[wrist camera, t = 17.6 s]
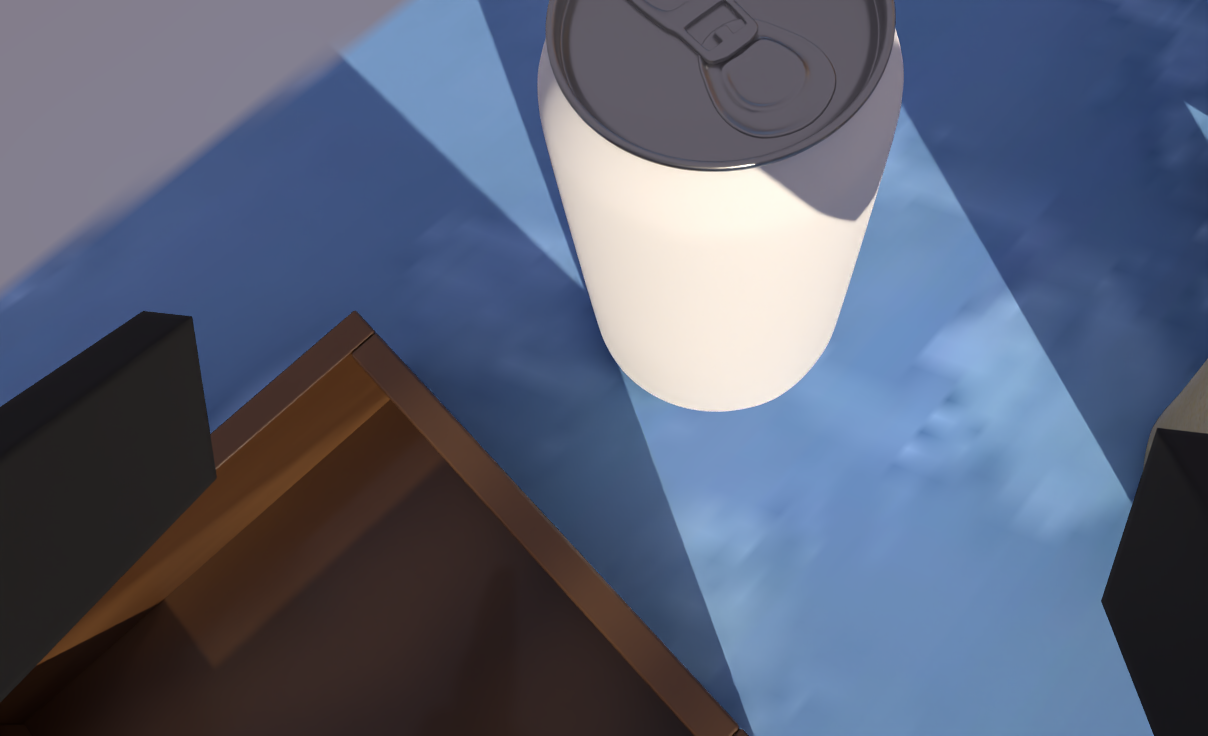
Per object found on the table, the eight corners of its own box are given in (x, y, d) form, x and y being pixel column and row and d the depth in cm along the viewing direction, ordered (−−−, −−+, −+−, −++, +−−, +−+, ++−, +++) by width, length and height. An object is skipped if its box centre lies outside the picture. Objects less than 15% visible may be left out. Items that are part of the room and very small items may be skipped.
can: (698, 466, 26) (687, 274, 15) (549, 288, 28) (442, 2, 17) (888, 317, 27) (1013, 27, 16) (731, 155, 29) (742, -204, 18)
